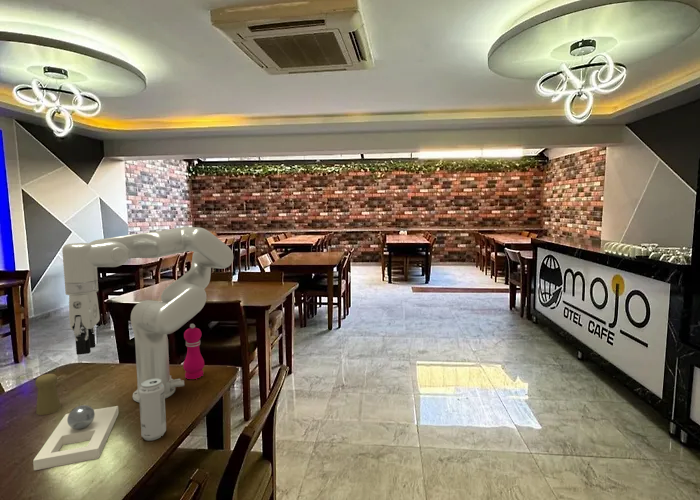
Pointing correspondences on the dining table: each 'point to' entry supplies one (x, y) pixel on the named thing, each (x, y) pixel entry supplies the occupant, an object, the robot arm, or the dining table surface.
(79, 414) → the ball
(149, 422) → the energy drink can
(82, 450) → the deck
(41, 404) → the cork
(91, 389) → the dining table surface
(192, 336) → the pepper mill
